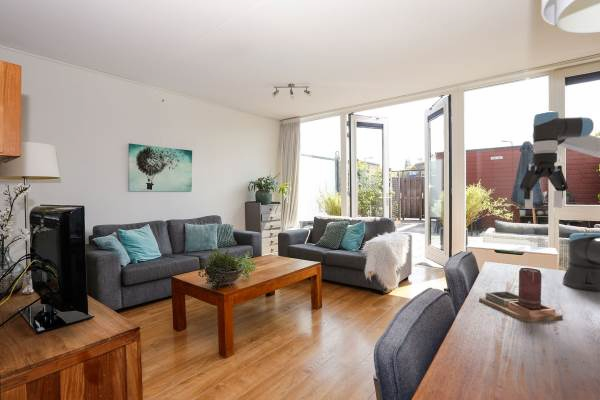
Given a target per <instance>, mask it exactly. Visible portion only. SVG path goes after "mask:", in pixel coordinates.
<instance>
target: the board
mask: <svg viewBox="0 0 600 400" xmlns="http://www.w3.org/2000/svg"><path fill="white" fill-rule="evenodd" d="M518 297H519V294H515V293H513V292H510V291H507V290H500V291H487V292H485V296H483V297H482V296H481V297H479V298H478V302H480V303H483V304H485V305H487V306H489V307H491V308H493V309H496V310H498V311H500V312H502V313H504V314H507V315H509V316H511V317H513V318H515V319H517V320H520V321H522V322H524V323H526V324H528V323H537V322H538V323H539V322H546V321H547V322H548V321H549V322H550V321H556V320H557V321H558V320H563V319H564V315H562V314H560V313H558V312H556V308H552V307H550V306H547V305H545V304H542V303H541V310H529V309H527V308H524V307H522V306H520V305H518Z"/></svg>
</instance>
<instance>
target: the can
mask: <svg viewBox="0 0 600 400" xmlns="http://www.w3.org/2000/svg"><path fill="white" fill-rule="evenodd" d="M542 277H543V276H542V273H541V270H540V269H537V268H533V267H532V268H531V267H521V268H520V269H519V270H518V295H519V297H518V305H520V306H522V307H524V308H527V309H529V310H541V304H542V303H541V302H542Z"/></svg>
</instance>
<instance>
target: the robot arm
mask: <svg viewBox="0 0 600 400" xmlns="http://www.w3.org/2000/svg"><path fill="white" fill-rule="evenodd" d="M532 126H533V130H532V131H533V132H532V139H533V141H532V143H533V147H532V152H533V153H534V154H532V163H533V164H532V165H531V164H529V165H527V166H526V171H525V174H524V176H523V178H522V181H521V183H520V185H519V187H518V188H519V190H521V191H522V192H523V193H524V194H523V199H524V208H525V209H533V208H534V207H533V206H534V190H533V189H534V187H535V185H536V184H537V183H538V182H539V180H540V179H542V178H547V179H548V180H549V183H551V185H552V186H553V188H554V189H555V190H553V208H563V198H564V192H566V191H567V190H569V189H568V188H569V186H568V183H567V180H566V177H565V176H564V172H563V166H562V165H555V164H556V163H557V162H558V153H557V152H558V149H559V148H558V146H559V147H562V148H565V149H567V150H572V151H576V152H577V153H581V154H585V155H588V156H592V157H596V158H599V159H600V137H598V136H594V135H591V134H592V132H593V131H594V121H593V120H592V119H591V118H589V117H585V116H584V117H582V116H578V117H573V116H572V117H560V116H559V112H558V111H554V110H553V111H542V112H539V113H537V114H534V118H533V125H532ZM568 239H569V240H568V266H567V269H566V271H565V273H564V275H563V277H562V283H563V284H564V285H565V286H568V287H570V288H574V289H578V290H582V291H583V290H584V291H590V292H600V233H598V232H597V233H592V232H589V233H588V232H587V233H586V232H585V233H583V232H582V233H579V232H577V233H576V232H575V233H574V232H573V233H571V234H570V235H569V238H568Z"/></svg>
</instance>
